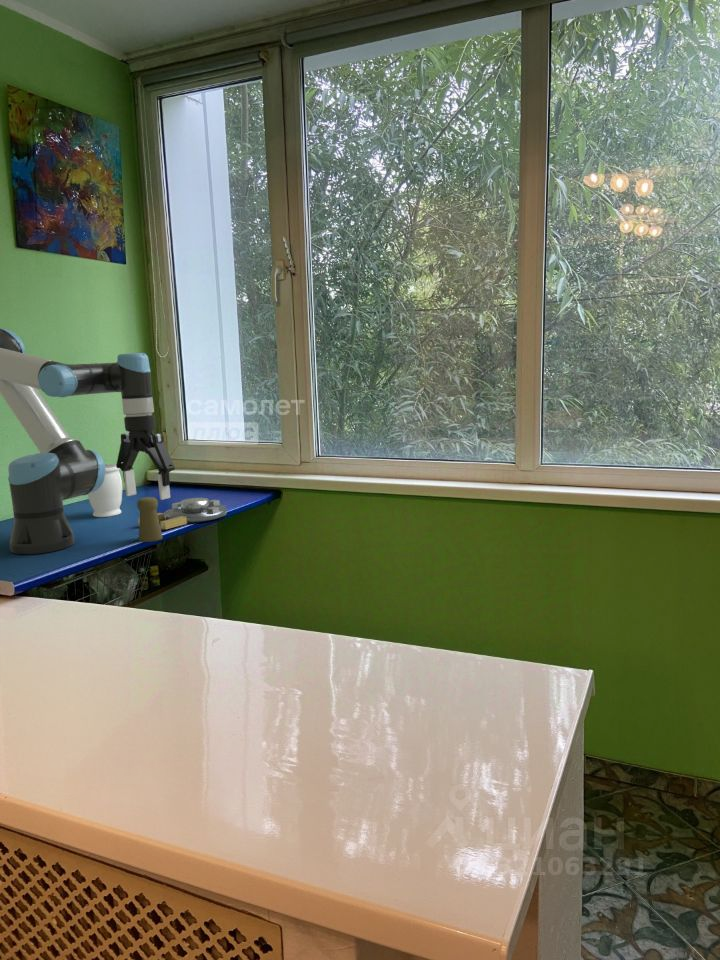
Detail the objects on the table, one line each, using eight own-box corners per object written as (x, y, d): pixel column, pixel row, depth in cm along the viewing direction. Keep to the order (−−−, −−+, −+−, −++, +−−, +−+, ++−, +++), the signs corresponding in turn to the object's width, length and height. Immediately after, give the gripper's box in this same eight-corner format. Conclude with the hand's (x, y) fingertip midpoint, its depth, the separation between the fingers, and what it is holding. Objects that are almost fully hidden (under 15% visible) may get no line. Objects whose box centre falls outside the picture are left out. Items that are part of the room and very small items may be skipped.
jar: (117, 517, 212) (112, 468, 209) (83, 519, 212) (78, 469, 209) (129, 510, 222) (125, 463, 220) (97, 511, 222) (92, 464, 220)
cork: (149, 542, 181) (145, 500, 179) (133, 540, 184) (129, 499, 182) (167, 537, 186) (163, 496, 184) (151, 534, 189) (147, 494, 187)
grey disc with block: (197, 506, 221) (196, 492, 220) (239, 512, 210) (238, 497, 210) (131, 524, 200) (129, 508, 200) (173, 530, 190) (172, 514, 189)
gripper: (183, 413, 175) (191, 497, 178) (121, 413, 189) (129, 491, 193) (159, 416, 169) (168, 503, 172) (96, 416, 183) (106, 496, 187)
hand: (148, 496), depth 183 cm, fingers open, 13 cm apart
